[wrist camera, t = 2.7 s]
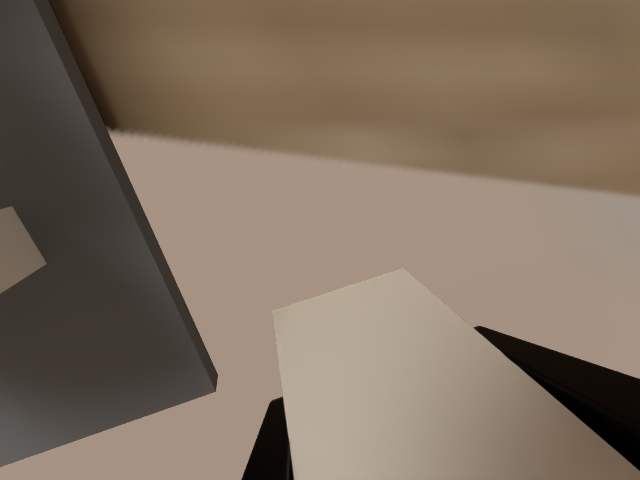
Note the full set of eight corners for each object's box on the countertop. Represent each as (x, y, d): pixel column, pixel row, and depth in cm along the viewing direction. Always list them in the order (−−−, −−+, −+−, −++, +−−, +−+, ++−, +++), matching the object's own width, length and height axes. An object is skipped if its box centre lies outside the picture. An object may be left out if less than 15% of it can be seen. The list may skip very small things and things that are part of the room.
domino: (271, 310, 11) (318, 661, 4) (403, 267, 12) (670, 497, 4) (283, 346, 12) (346, 715, 4) (409, 303, 12) (654, 562, 5)
